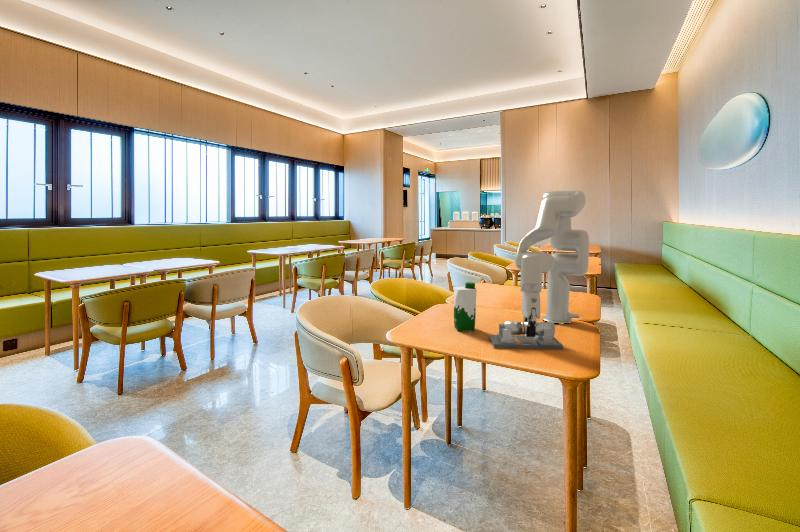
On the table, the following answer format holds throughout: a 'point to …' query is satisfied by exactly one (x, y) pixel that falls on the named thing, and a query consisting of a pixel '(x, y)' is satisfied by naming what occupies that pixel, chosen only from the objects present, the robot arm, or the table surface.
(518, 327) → the banded metal cylinder
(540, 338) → the cylinder mounting fixture
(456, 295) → the milk carton
